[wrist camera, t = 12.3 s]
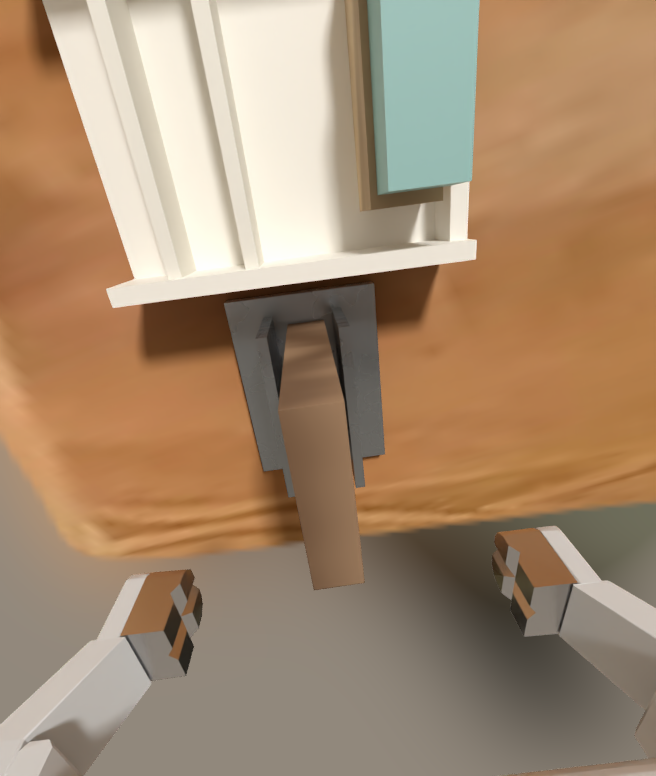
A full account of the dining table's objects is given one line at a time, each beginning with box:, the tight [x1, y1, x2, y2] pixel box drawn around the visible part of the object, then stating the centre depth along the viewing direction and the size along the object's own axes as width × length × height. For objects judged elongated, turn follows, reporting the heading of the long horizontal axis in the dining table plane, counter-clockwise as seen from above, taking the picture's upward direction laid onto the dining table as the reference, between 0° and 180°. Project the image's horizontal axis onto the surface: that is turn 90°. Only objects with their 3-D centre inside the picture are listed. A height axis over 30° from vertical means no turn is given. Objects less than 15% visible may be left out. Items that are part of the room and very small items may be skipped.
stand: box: [224, 281, 385, 497], centre depth 20 cm, size 8×11×5 cm
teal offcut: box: [367, 0, 479, 195], centre depth 12 cm, size 3×7×2 cm, turn 7°
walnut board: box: [278, 320, 365, 590], centre depth 17 cm, size 2×8×10 cm, turn 7°
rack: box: [42, 0, 477, 308], centre depth 15 cm, size 16×14×4 cm
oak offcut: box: [344, 0, 443, 212], centre depth 14 cm, size 3×9×3 cm, turn 7°
